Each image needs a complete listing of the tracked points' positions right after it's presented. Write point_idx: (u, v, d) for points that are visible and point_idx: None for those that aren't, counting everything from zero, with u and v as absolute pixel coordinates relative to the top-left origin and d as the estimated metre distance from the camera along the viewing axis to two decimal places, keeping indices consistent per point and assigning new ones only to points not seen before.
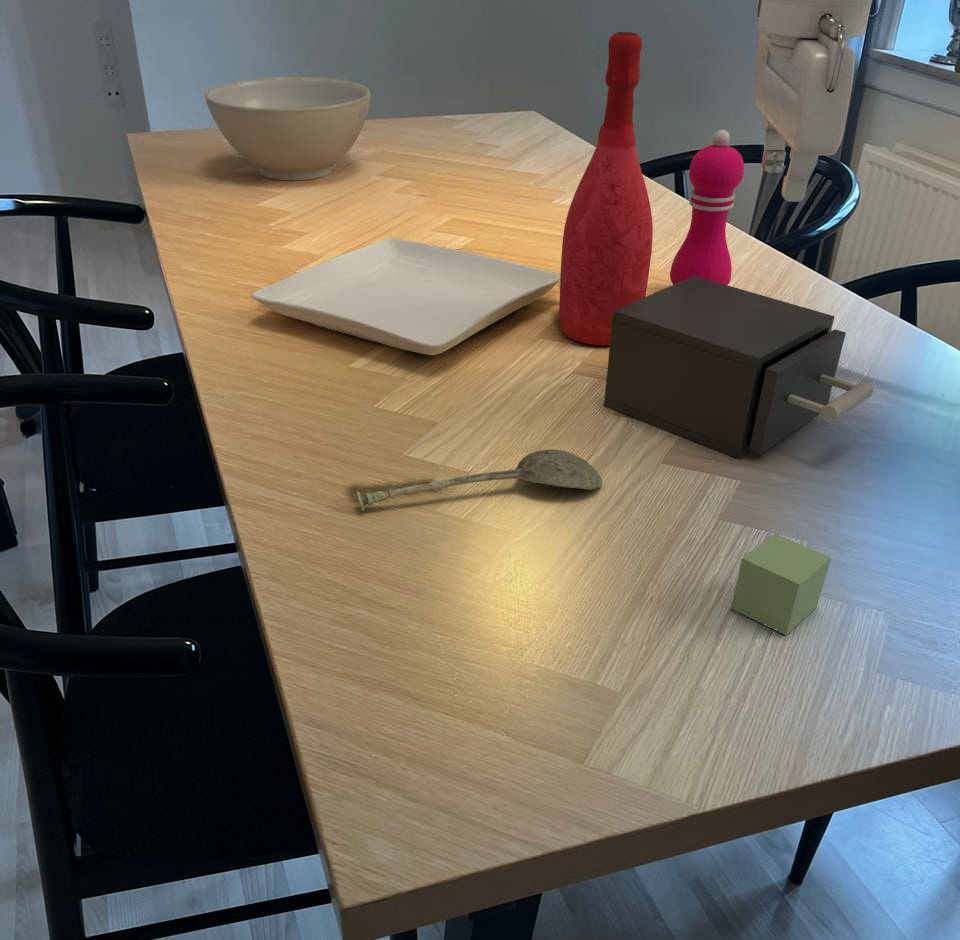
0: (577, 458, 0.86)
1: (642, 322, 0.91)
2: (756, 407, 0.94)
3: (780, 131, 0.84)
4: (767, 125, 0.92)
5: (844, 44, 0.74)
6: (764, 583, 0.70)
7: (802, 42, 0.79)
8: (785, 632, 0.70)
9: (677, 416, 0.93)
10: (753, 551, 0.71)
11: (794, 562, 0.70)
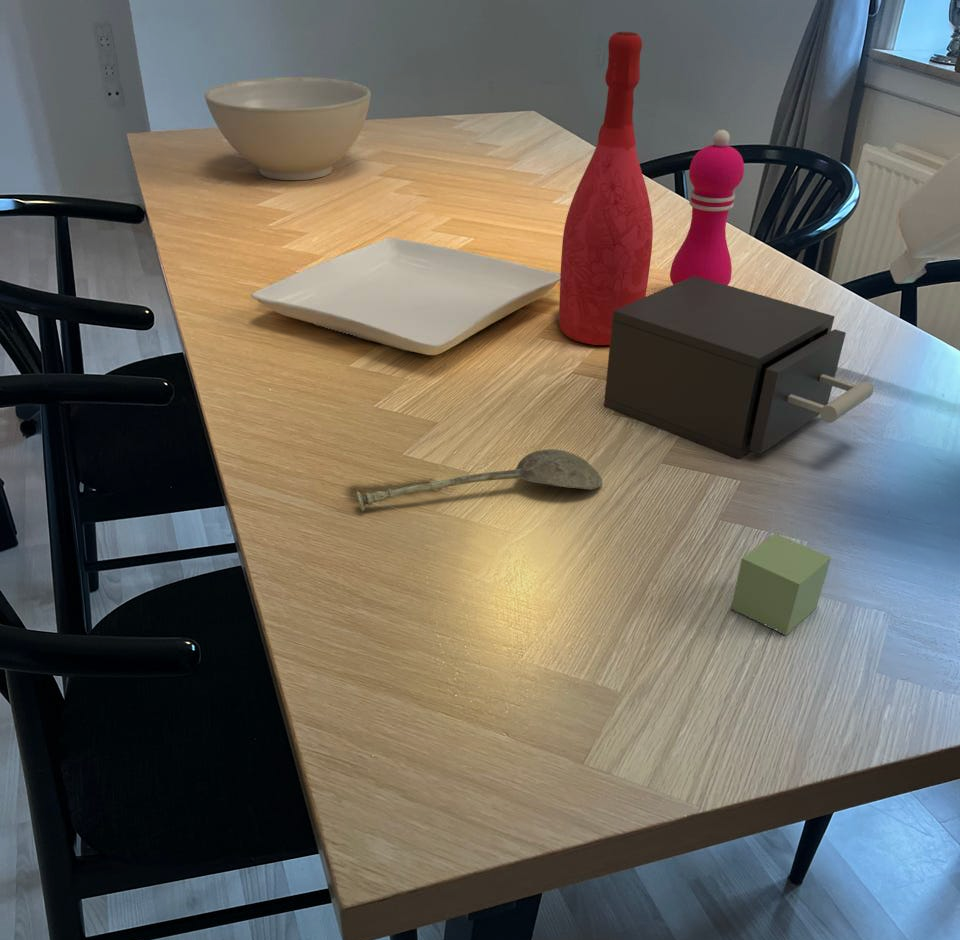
0: (577, 458, 0.86)
1: (642, 322, 0.91)
2: (756, 407, 0.94)
3: None
4: (936, 257, 0.72)
5: None
6: (764, 583, 0.70)
7: None
8: (785, 632, 0.70)
9: (677, 416, 0.93)
10: (753, 551, 0.71)
11: (794, 562, 0.70)
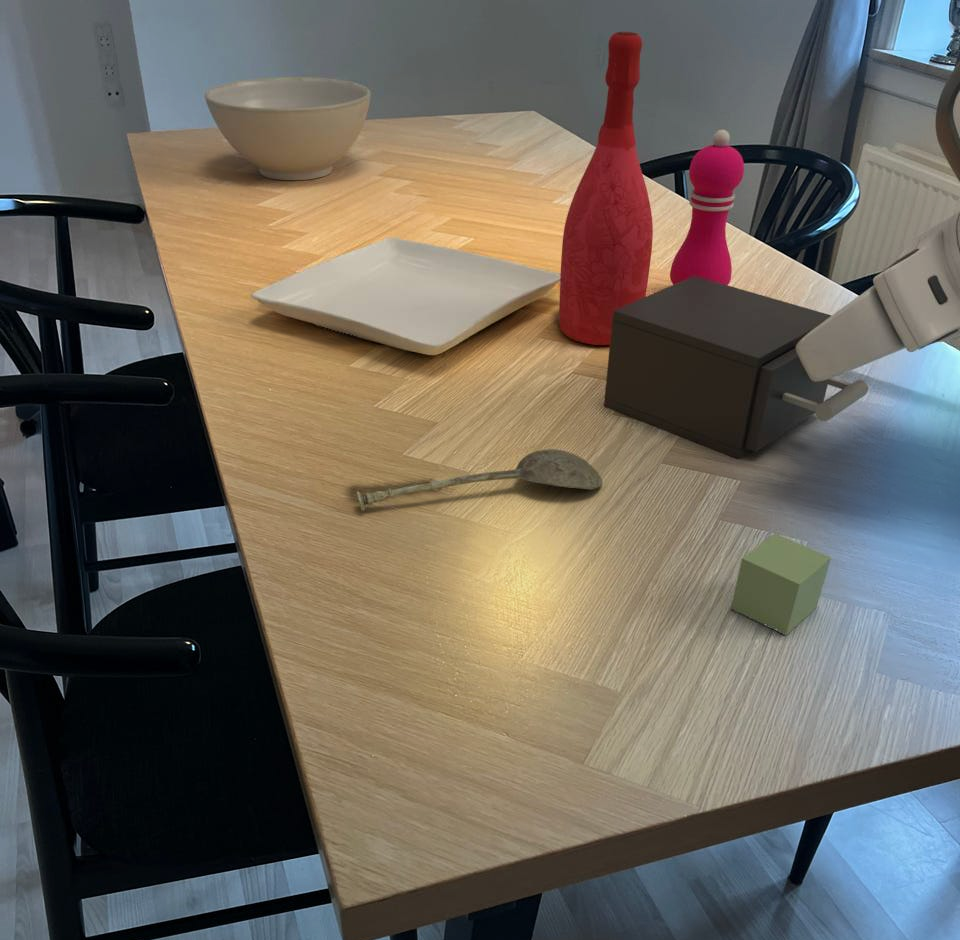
0: (577, 458, 0.86)
1: (642, 322, 0.91)
2: None
3: None
4: None
5: None
6: (764, 583, 0.70)
7: None
8: (785, 632, 0.70)
9: (677, 416, 0.93)
10: (753, 551, 0.71)
11: (794, 562, 0.70)
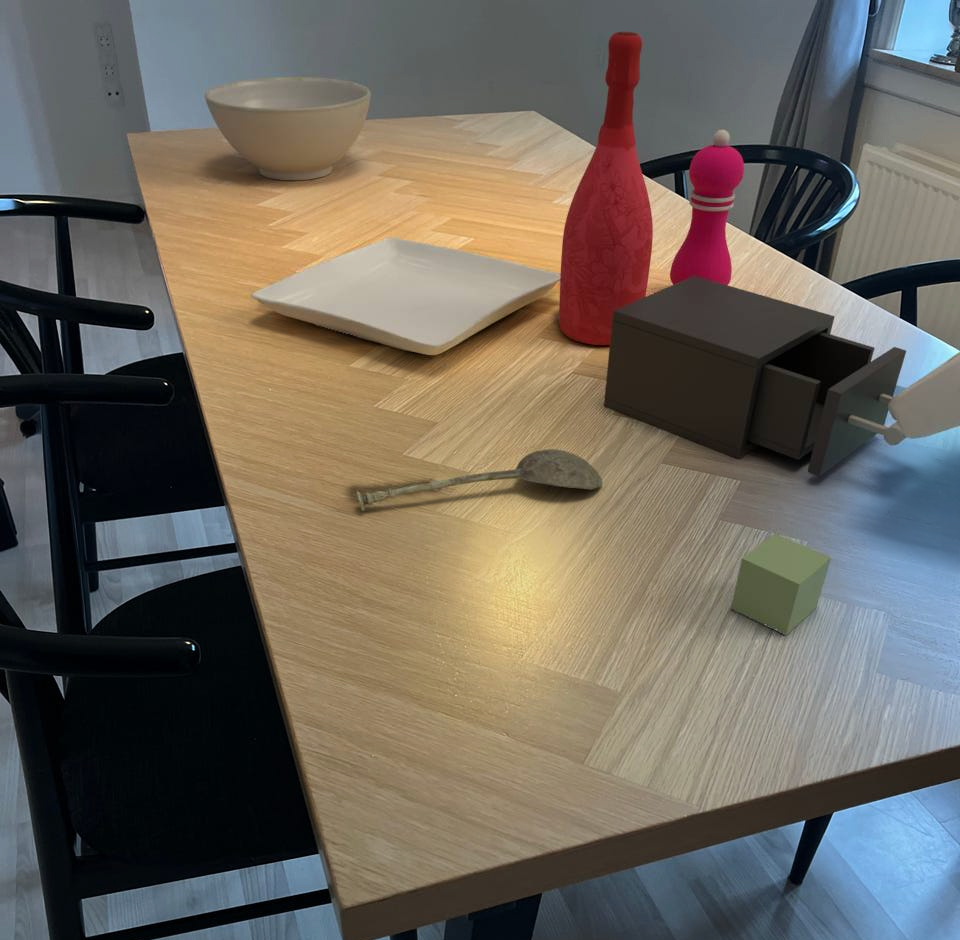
0: (577, 458, 0.86)
1: (642, 322, 0.91)
2: (812, 427, 0.91)
3: None
4: None
5: None
6: (764, 583, 0.70)
7: None
8: (785, 632, 0.70)
9: (677, 416, 0.93)
10: (753, 551, 0.71)
11: (794, 562, 0.70)
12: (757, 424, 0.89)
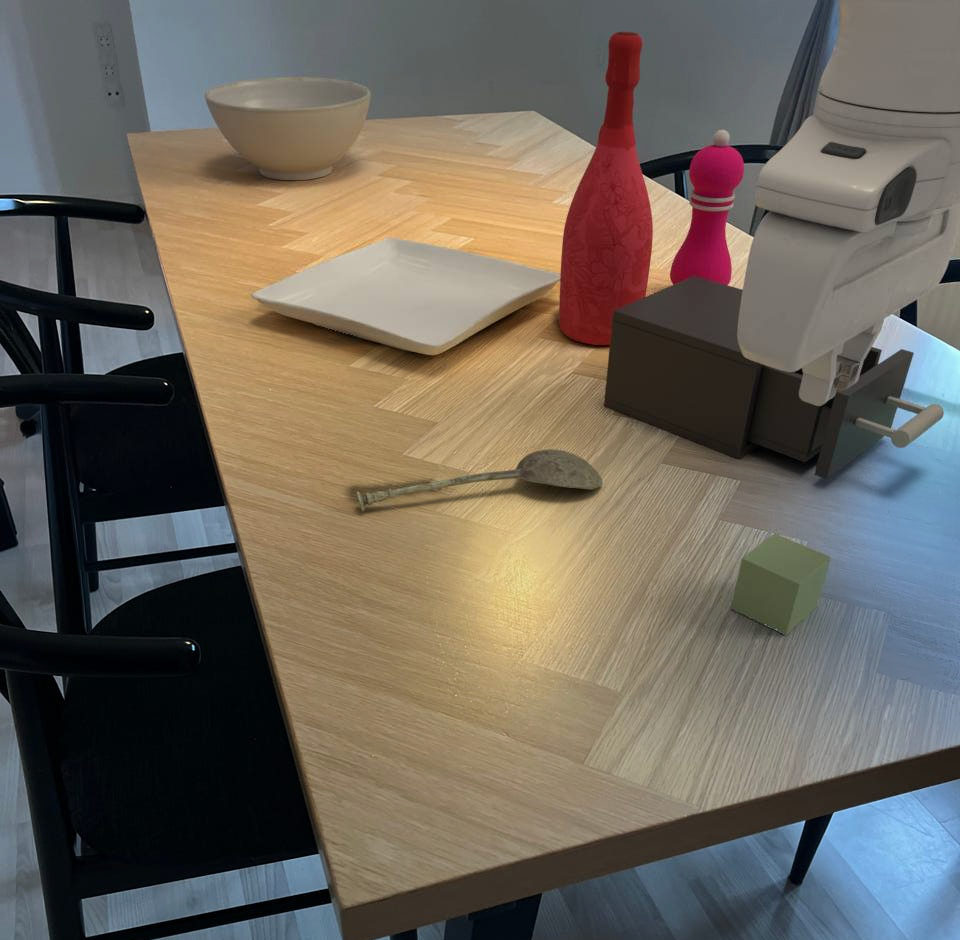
0: (577, 458, 0.86)
1: (642, 322, 0.91)
2: (819, 429, 0.91)
3: (900, 306, 0.60)
4: (841, 348, 0.58)
5: None
6: (764, 583, 0.70)
7: None
8: (785, 632, 0.70)
9: (677, 416, 0.93)
10: (753, 551, 0.71)
11: (794, 562, 0.70)
12: (764, 427, 0.89)
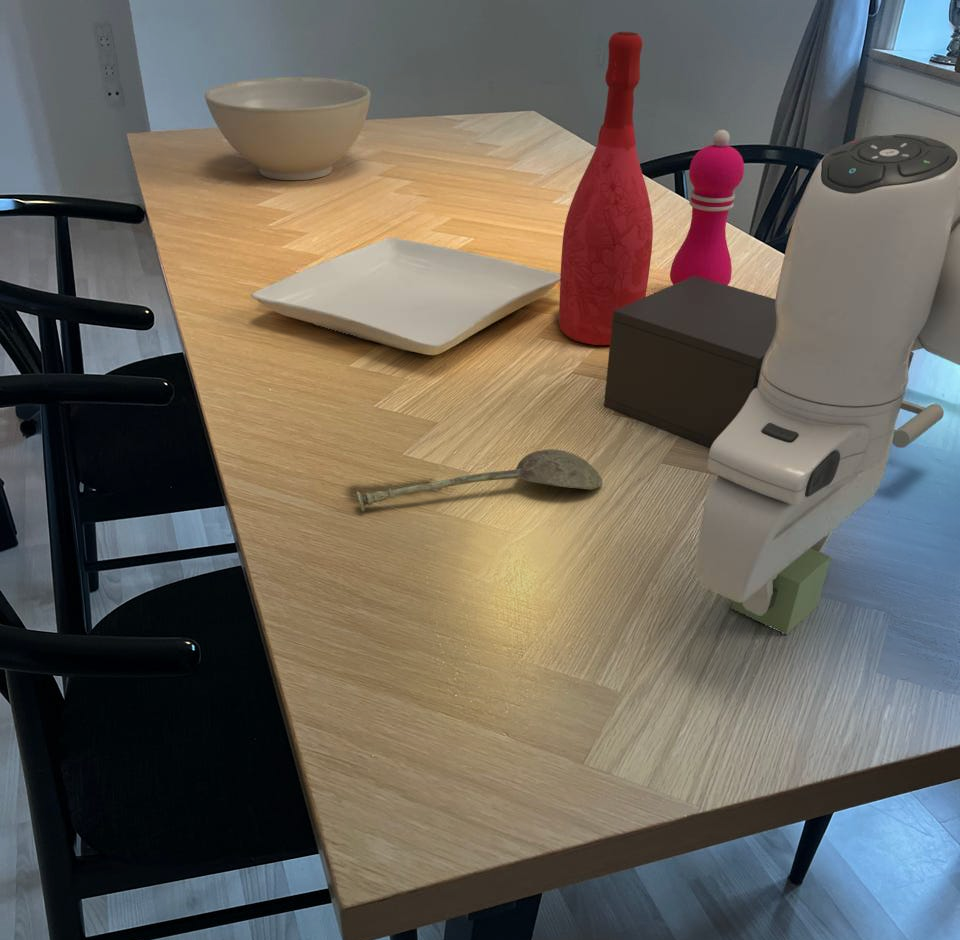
0: (577, 458, 0.86)
1: (642, 322, 0.91)
2: None
3: (838, 523, 0.70)
4: None
5: None
6: None
7: None
8: (785, 632, 0.70)
9: (677, 416, 0.93)
10: None
11: (795, 562, 0.70)
12: None
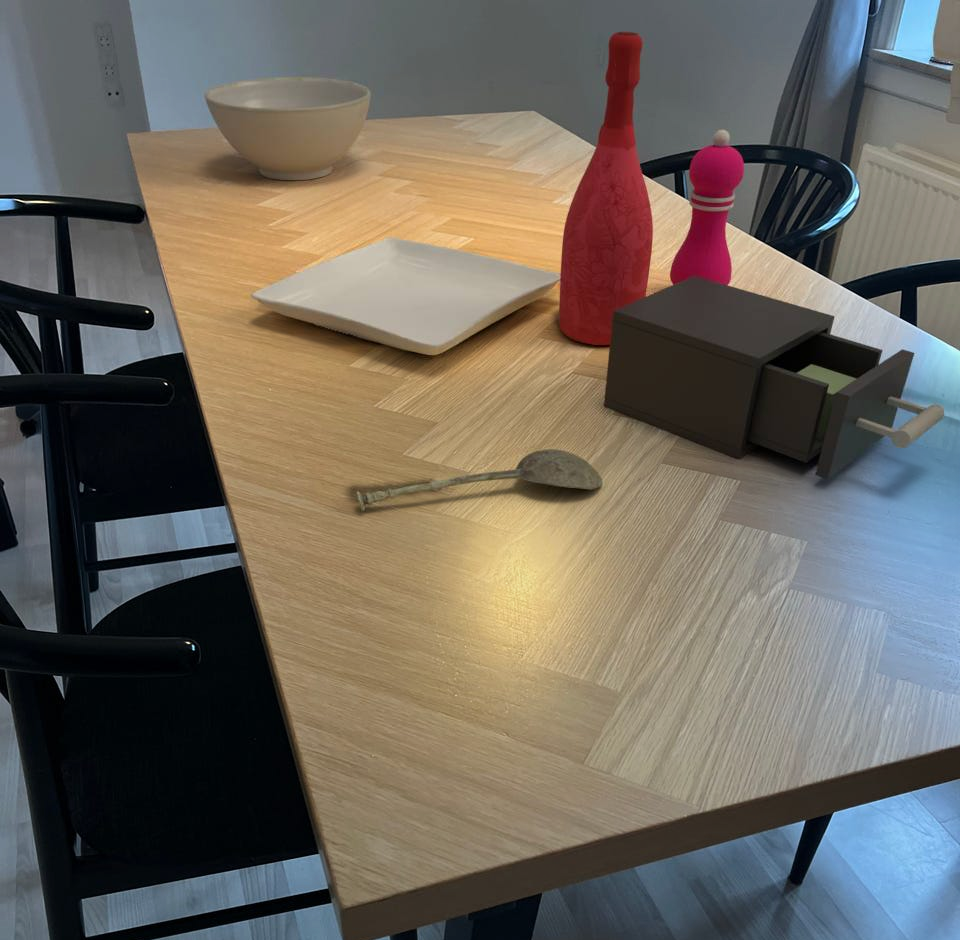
0: (577, 458, 0.86)
1: (642, 322, 0.91)
2: None
3: None
4: None
5: None
6: None
7: None
8: (829, 394, 0.86)
9: (677, 416, 0.93)
10: None
11: None
12: (765, 427, 0.89)
